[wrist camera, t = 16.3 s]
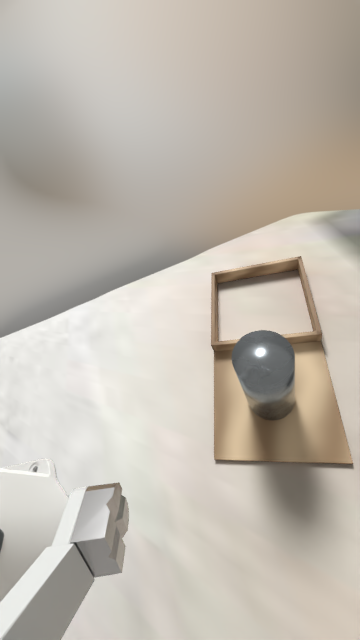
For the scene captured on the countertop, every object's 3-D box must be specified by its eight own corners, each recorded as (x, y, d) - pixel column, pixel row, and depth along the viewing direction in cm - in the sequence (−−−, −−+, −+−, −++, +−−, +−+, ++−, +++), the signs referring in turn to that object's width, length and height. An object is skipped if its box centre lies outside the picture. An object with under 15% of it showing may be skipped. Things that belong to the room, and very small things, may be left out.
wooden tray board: (215, 459, 31) (210, 456, 30) (214, 281, 47) (211, 273, 45) (352, 463, 27) (356, 460, 25) (300, 266, 43) (301, 256, 41)
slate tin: (248, 420, 32) (232, 387, 24) (245, 377, 35) (230, 333, 27) (298, 419, 30) (300, 383, 22) (290, 374, 33) (289, 327, 25)
